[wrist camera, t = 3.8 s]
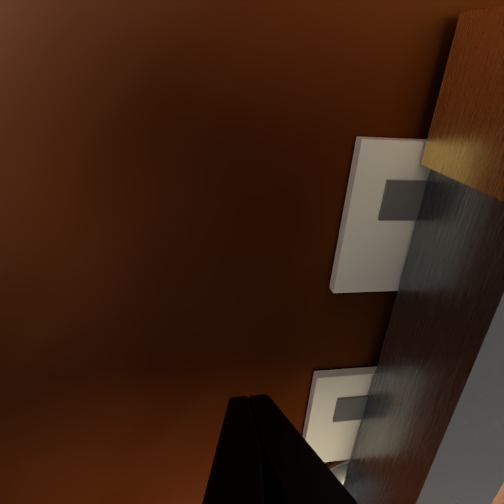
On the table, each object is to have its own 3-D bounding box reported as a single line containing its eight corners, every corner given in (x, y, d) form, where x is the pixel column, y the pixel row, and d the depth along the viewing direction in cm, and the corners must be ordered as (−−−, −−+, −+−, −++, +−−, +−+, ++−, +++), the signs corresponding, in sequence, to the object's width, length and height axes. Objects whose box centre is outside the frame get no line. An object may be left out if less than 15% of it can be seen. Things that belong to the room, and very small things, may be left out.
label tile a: (298, 457, 14) (301, 467, 13) (314, 370, 12) (317, 379, 12) (450, 439, 15) (456, 448, 14) (485, 358, 13) (493, 366, 13)
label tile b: (329, 287, 11) (334, 294, 10) (356, 136, 9) (363, 139, 8) (518, 280, 12) (528, 287, 11) (577, 145, 10) (590, 148, 10)
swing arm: (397, 529, 16) (448, 639, 13) (315, 541, 16) (349, 661, 13) (598, 27, 8) (852, 10, 5) (446, 11, 8) (632, -20, 4)
